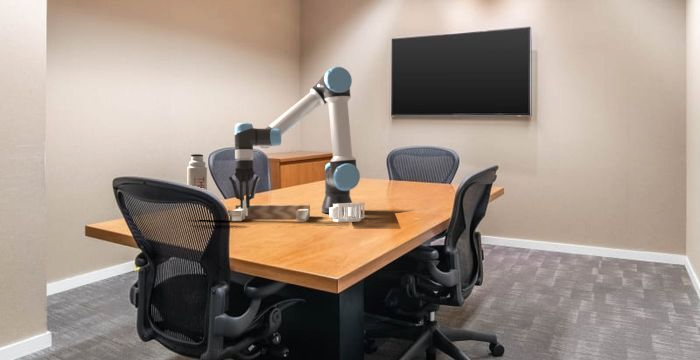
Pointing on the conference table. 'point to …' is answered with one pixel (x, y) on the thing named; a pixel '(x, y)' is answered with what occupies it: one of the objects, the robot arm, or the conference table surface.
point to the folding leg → (238, 214)
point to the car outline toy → (346, 212)
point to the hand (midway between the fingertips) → (245, 215)
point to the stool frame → (277, 212)
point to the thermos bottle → (197, 172)
